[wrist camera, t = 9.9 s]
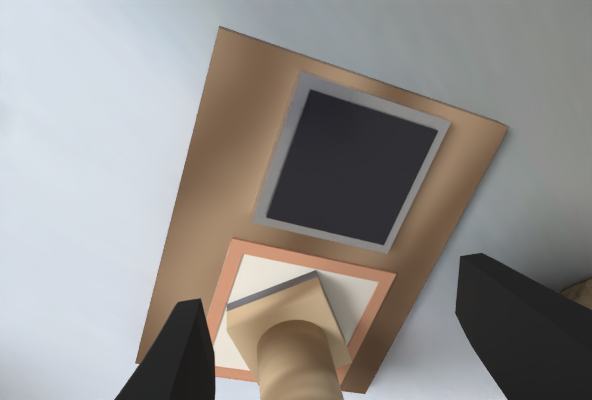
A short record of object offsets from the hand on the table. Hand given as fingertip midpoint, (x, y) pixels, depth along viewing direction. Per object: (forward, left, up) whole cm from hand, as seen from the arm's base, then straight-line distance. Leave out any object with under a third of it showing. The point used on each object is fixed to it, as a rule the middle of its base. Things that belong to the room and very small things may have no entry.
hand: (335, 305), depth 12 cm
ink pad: (-2, -1, -9) cm, 10 cm away
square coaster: (-3, +8, -9) cm, 13 cm away
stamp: (-2, +8, -9) cm, 13 cm away
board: (-2, +4, -10) cm, 11 cm away
